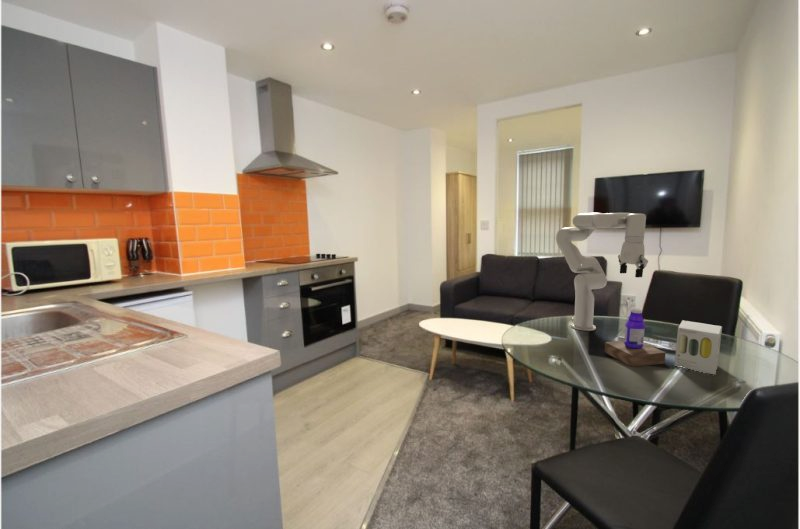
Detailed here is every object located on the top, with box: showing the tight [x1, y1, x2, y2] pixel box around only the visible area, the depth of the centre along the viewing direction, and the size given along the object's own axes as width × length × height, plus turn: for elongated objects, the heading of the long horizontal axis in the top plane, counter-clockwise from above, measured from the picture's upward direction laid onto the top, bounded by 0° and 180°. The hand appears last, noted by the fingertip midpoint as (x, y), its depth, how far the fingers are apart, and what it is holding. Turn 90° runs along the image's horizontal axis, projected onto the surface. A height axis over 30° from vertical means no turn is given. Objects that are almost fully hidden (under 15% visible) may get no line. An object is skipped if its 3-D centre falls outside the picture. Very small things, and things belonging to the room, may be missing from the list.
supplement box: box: [674, 319, 723, 375], centre depth 147 cm, size 13×13×18 cm
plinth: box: [604, 340, 666, 368], centre depth 158 cm, size 16×16×5 cm
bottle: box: [623, 307, 646, 348], centre depth 156 cm, size 7×6×17 cm
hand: (630, 275), depth 169 cm, fingers open, 9 cm apart
